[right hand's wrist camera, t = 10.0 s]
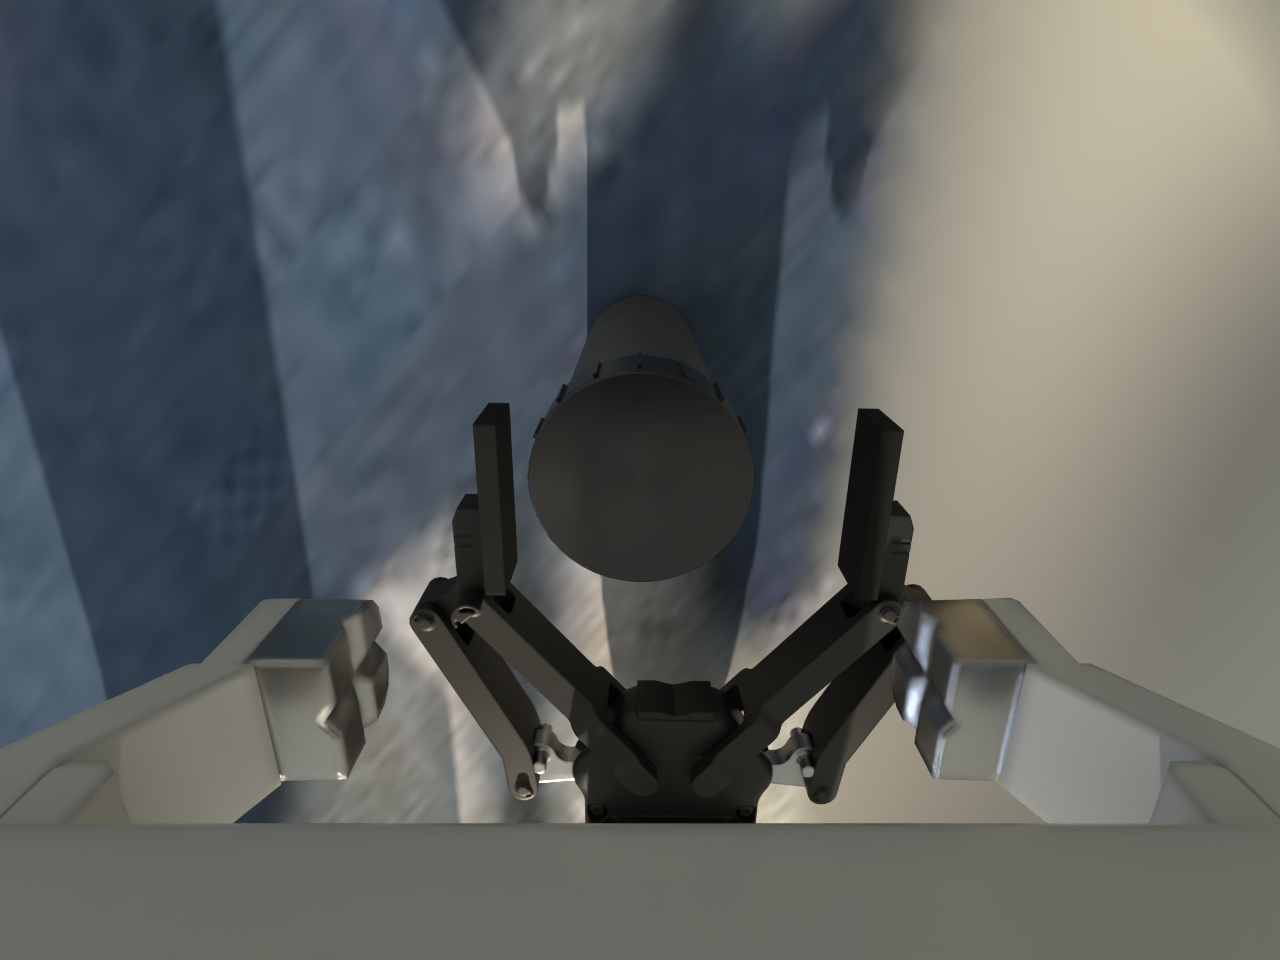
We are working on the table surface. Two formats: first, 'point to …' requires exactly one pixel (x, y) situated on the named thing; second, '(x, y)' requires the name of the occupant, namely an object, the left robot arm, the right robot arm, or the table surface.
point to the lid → (641, 469)
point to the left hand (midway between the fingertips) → (686, 414)
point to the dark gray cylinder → (640, 334)
